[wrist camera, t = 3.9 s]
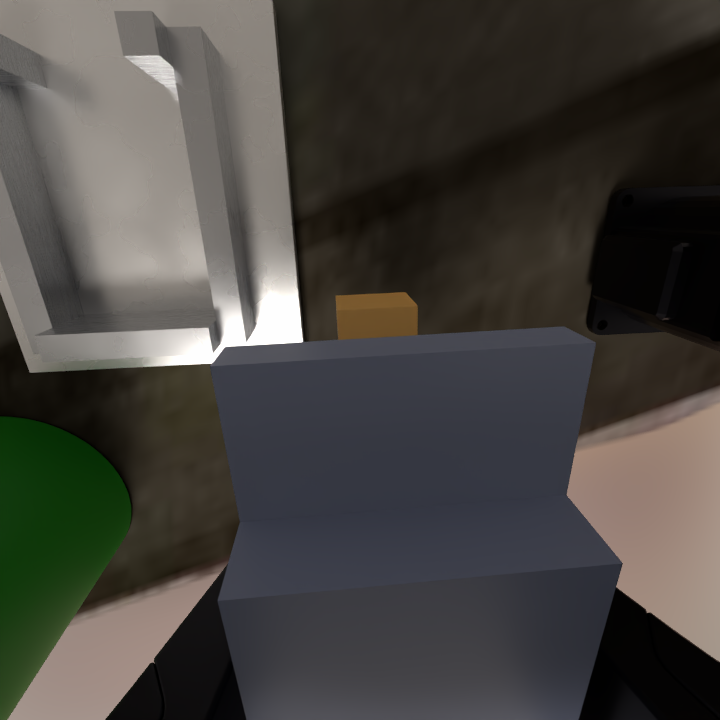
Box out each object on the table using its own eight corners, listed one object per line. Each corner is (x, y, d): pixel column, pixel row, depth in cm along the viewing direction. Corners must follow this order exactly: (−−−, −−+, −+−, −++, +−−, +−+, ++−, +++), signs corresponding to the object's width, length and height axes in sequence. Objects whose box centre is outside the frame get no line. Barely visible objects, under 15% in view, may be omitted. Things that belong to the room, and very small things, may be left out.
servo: (469, 278, 8) (674, 382, 3) (447, 619, 11) (527, 900, 7) (268, 288, 8) (172, 415, 3) (311, 633, 11) (298, 932, 7)
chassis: (275, 10, 14) (255, -61, 10) (305, 350, 19) (298, 386, 15) (-78, 12, 13) (-237, -64, 10) (45, 364, 18) (-29, 404, 14)
